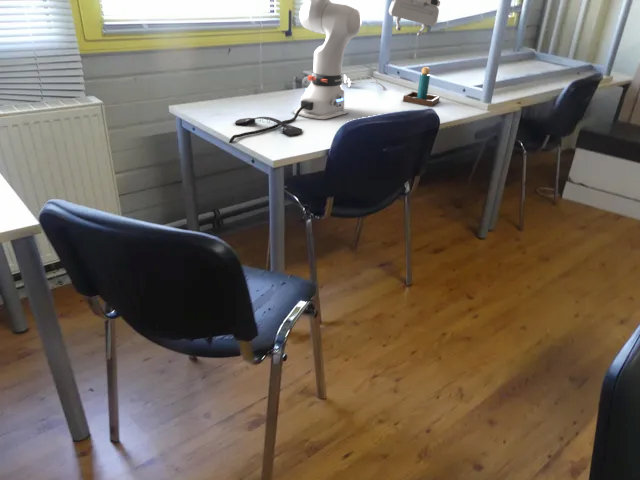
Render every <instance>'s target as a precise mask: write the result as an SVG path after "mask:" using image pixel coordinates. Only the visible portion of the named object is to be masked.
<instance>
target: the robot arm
mask: <svg viewBox="0 0 640 480" xmlns="http://www.w3.org/2000/svg"><path fill="white" fill-rule="evenodd" d="M440 5H441V0H391V3H390V5H389V8H388V14H389V15H390V16H392V17H395V24H396V27H395V30H396V31H401V30H402V29H401V28H402V25H400V22H401V19H404V20H407V21H411V22H414V23H419V24H421V28H420V30H417V33H416V36H419V37H422V35H423V32H424V31H425V30H426V29H427V27H428V26H429V27H432V28H433V27H435V26H437V23H438V20H439V15H440V10H439V7H440ZM298 17H299V22H300V25H301V26H302V27H303V28H304V29H306V30H308V31H310V32H313V33H317V34H320V35H321V34H322V35H325V39H324V42H323V44H321V45H319V46H318V47H316V48H315V50H314V52H313V68H312V70H313V71H312V72H311V74H309V75H307V81H309V82H310V83H309V85H308V87H307V88H305V91H304V93H303V94H302V96H301V98H300V106H298V107H297V108H296V109H294V111H293V113H294V114H295V115H294V116H293V117H292V118H290V119H286V120H281V122H283V123H285V124H289V123H292V122H294V121H296V120H297V118H298V116H301V117H305V118H311V119H317V120H328V119H331V118H336V117H338V116H343V115H345V114H347V113H348V110H347V109H346V108H345V101H346V97H345V90H344V88H343V86H342V84H343V80H344V76H343V74H342V71H343V60H344V54H345V50H346V47H348V46H347V45H348V44H349V43H350V41H351V40H352V39H353V38H354V37H356V36H358V34H359V32H360V30H361V28H362V23H363V22H362V16H361V14H360V12H359V10H357V9H356V8H355V7H352V6H349V5H347V4H340V3H334V2H332V1H331V0H305V2H304V3H303V4H302V6H301V7H300V10H299V15H298ZM277 125H279V124H278V123H275V124H274V125H272V126H267V127H264V128H260V129H257V130H251V131H246V132H242V133H239V134H233V135H232V136H231V137H230V139H229V141H228V143H229V144H232V143H233V142H234V140H235V139H238V138H242V137H246V136H251V135H256V134H260V133H264V132H268V131H271V130H275V129H277V128H279V127H281V125H279V126H277Z"/></svg>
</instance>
